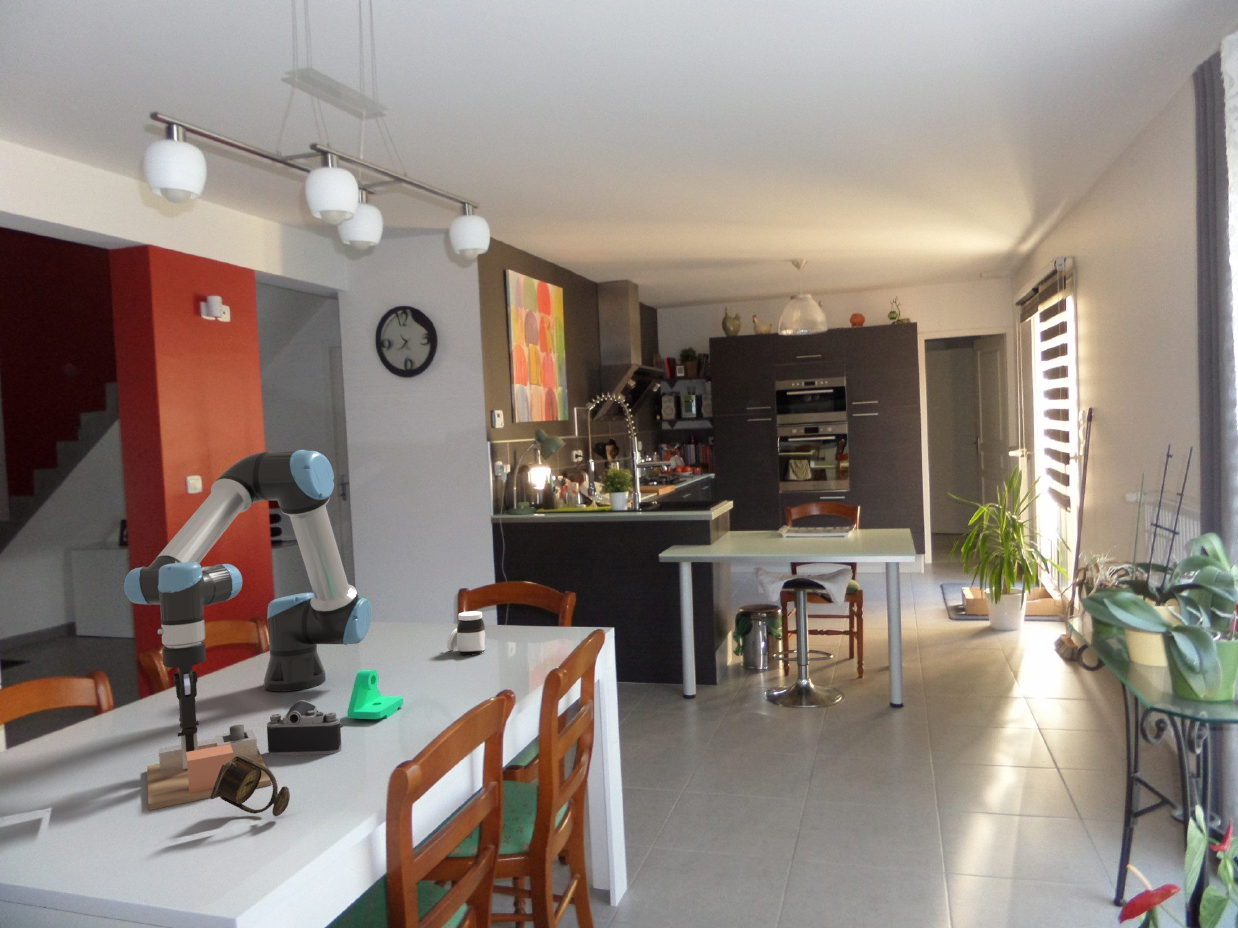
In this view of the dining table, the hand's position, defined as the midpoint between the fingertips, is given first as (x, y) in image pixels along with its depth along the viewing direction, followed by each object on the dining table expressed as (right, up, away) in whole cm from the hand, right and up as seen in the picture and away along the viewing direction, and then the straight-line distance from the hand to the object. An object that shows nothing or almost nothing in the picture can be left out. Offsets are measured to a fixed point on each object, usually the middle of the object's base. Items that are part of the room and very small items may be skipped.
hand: (190, 763), depth 176 cm
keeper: (+8, 0, -10) cm, 13 cm away
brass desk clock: (+21, -1, -21) cm, 30 cm away
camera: (+19, 0, +11) cm, 22 cm away
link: (+3, 0, +2) cm, 3 cm away
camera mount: (+28, 0, +32) cm, 42 cm away
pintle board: (+5, -1, -4) cm, 7 cm away
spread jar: (+39, +3, +88) cm, 96 cm away
